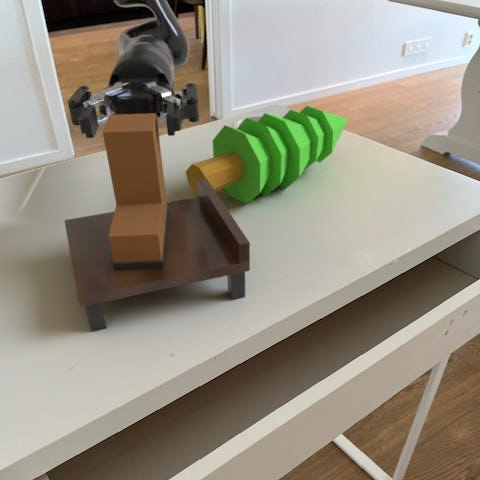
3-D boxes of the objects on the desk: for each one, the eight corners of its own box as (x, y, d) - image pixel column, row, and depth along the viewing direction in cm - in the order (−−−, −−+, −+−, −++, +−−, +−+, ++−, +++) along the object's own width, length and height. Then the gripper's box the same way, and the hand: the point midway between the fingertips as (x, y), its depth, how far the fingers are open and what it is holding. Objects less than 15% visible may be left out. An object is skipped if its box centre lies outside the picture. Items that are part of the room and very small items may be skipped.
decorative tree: (178, 121, 66) (338, 67, 79) (171, 184, 76) (314, 127, 89) (231, 180, 63) (388, 113, 76) (216, 238, 72) (358, 170, 86)
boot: (113, 270, 54) (90, 160, 46) (126, 214, 62) (108, 114, 55) (163, 268, 54) (148, 158, 46) (168, 212, 63) (157, 112, 55)
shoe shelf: (88, 335, 53) (72, 278, 49) (73, 254, 65) (59, 201, 60) (249, 298, 58) (249, 242, 53) (209, 228, 69) (206, 177, 64)
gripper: (81, 49, 63) (50, 91, 50) (197, 46, 63) (195, 88, 51) (93, 112, 68) (68, 164, 55) (201, 109, 68) (200, 160, 56)
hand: (129, 127), depth 53 cm, fingers open, 8 cm apart
